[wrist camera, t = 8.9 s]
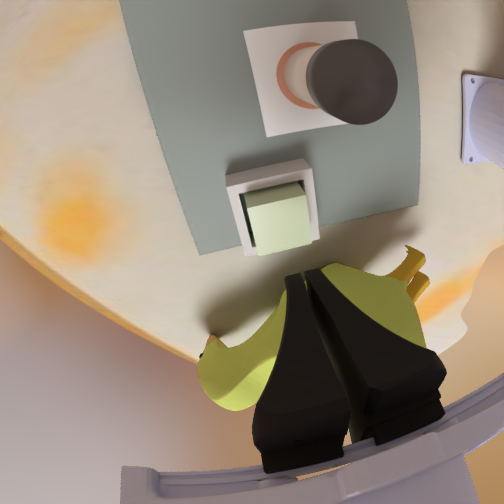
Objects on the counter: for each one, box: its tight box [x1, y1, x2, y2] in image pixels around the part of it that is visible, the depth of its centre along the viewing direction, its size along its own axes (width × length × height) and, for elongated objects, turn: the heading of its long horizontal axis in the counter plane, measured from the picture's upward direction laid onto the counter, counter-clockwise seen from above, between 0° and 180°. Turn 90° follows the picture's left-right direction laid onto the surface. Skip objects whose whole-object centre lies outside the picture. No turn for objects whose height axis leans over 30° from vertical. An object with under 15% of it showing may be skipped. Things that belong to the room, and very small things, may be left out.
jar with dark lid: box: [283, 39, 398, 125], centre depth 13 cm, size 4×4×7 cm
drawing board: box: [119, 0, 420, 257], centre depth 15 cm, size 18×23×2 cm
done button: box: [244, 181, 312, 256], centre depth 19 cm, size 3×3×2 cm
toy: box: [197, 245, 430, 411], centre depth 22 cm, size 6×17×20 cm
